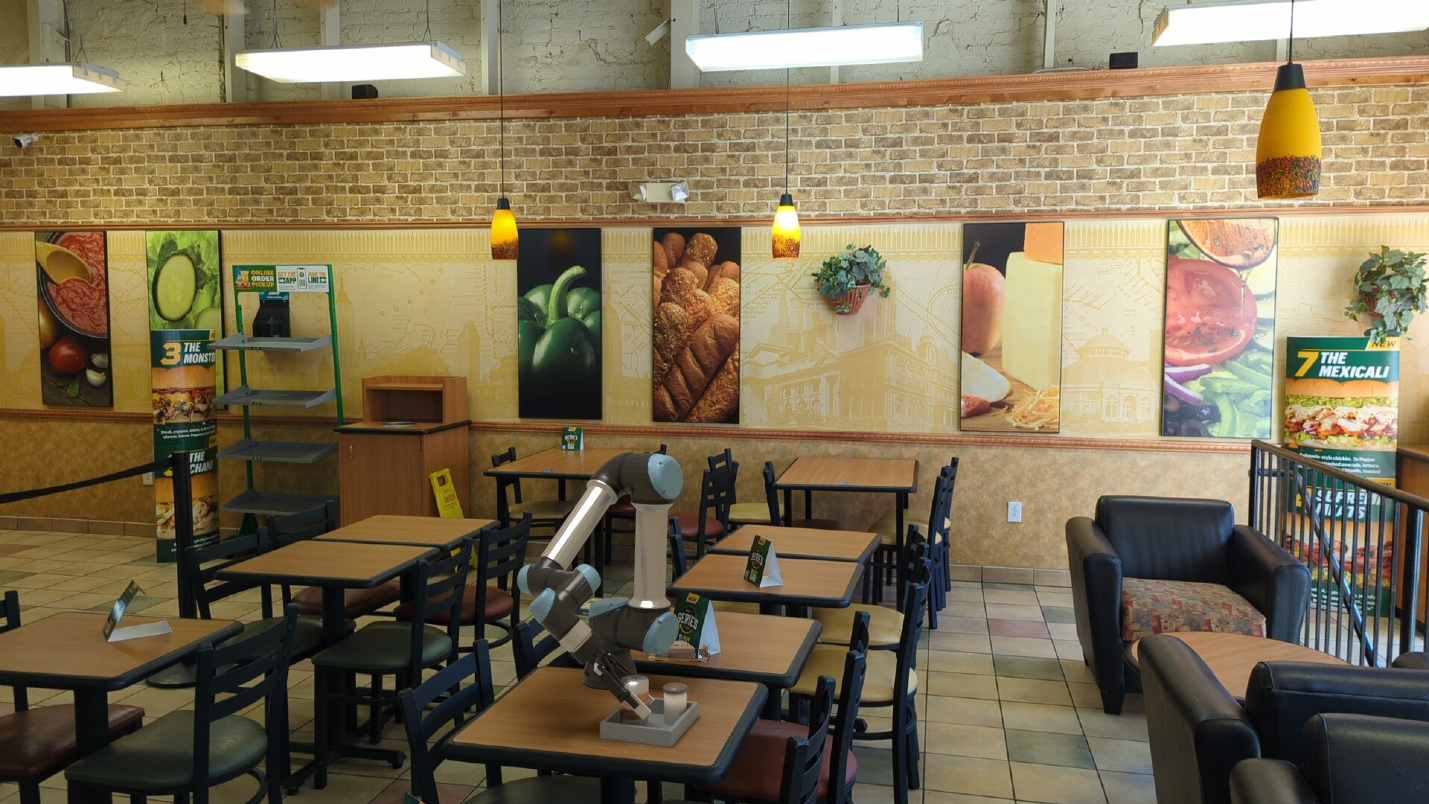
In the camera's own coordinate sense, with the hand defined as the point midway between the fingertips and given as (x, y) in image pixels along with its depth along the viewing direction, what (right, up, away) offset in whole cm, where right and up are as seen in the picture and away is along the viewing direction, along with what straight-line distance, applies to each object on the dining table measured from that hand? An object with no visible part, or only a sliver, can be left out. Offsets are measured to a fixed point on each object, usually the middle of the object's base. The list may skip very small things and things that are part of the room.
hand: (648, 709), depth 239 cm
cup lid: (+6, +3, +6) cm, 9 cm away
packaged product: (+5, -4, +61) cm, 61 cm away
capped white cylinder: (+6, -5, +6) cm, 10 cm away
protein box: (-19, -3, +64) cm, 67 cm away
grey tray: (0, -6, +2) cm, 6 cm away
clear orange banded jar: (-4, -4, 0) cm, 5 cm away
